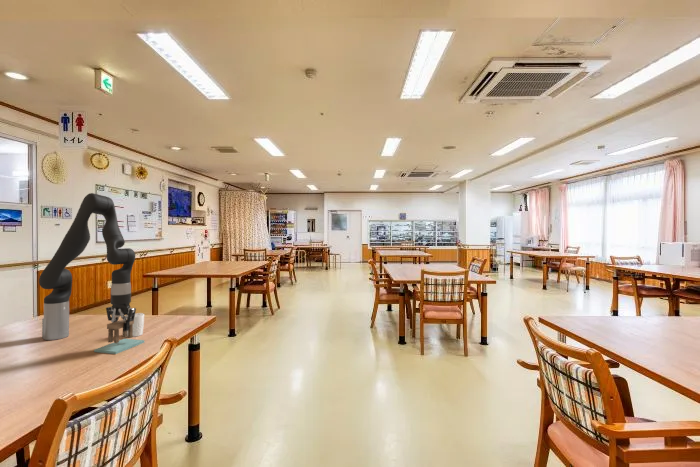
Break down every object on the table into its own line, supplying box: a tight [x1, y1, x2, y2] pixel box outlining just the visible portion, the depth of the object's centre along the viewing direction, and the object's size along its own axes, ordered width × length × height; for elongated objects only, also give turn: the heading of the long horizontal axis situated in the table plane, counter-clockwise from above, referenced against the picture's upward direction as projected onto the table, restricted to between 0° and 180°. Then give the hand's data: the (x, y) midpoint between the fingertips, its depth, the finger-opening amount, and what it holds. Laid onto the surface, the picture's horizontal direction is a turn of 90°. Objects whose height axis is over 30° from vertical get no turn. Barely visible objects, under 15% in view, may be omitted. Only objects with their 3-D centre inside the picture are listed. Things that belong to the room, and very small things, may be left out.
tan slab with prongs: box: [106, 319, 134, 344], centre depth 148 cm, size 9×5×8 cm, turn 169°
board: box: [93, 338, 145, 355], centre depth 148 cm, size 11×15×1 cm
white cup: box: [126, 312, 145, 338], centre depth 165 cm, size 8×8×10 cm
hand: (120, 330), depth 148 cm, fingers closed on tan slab with prongs, 5 cm apart
